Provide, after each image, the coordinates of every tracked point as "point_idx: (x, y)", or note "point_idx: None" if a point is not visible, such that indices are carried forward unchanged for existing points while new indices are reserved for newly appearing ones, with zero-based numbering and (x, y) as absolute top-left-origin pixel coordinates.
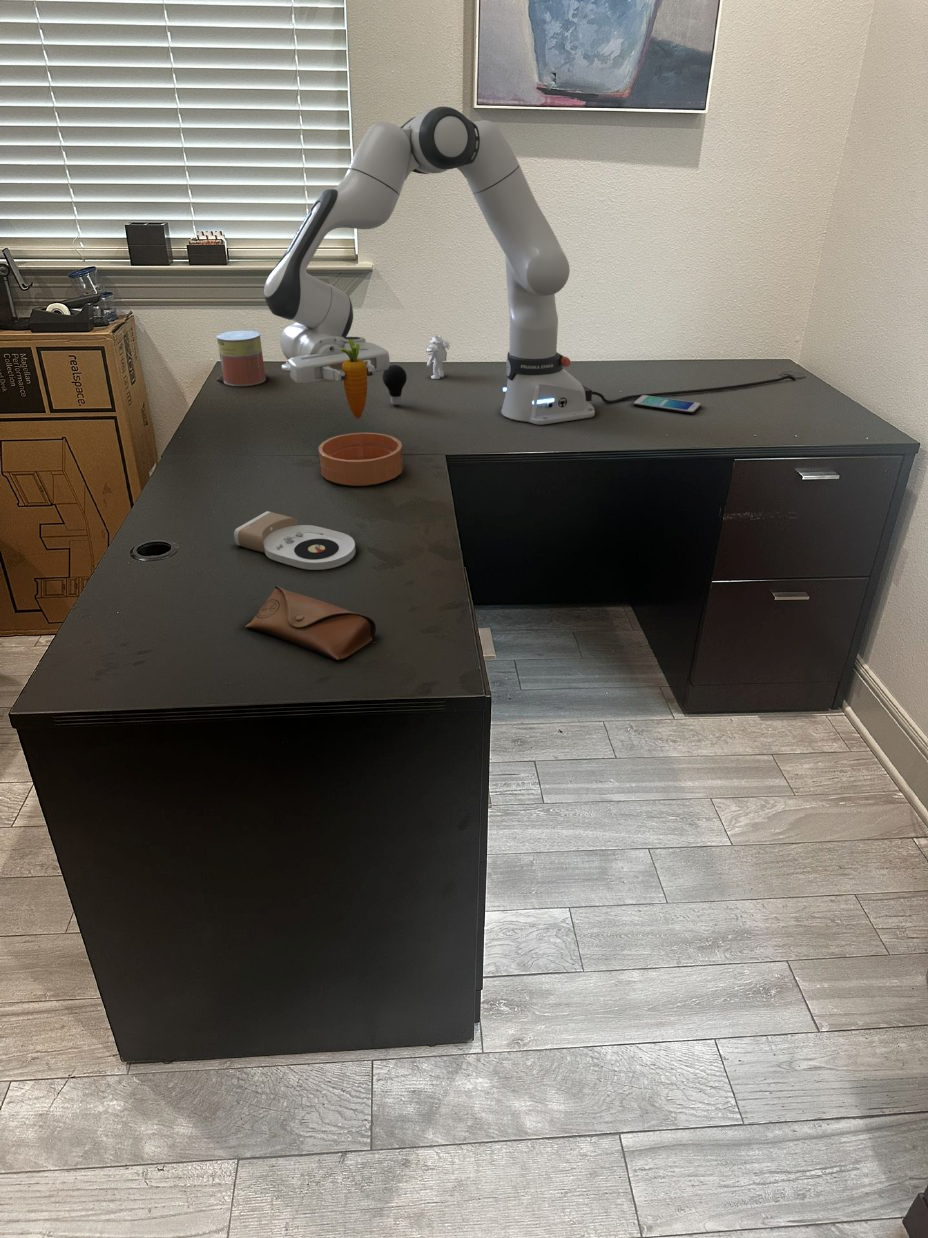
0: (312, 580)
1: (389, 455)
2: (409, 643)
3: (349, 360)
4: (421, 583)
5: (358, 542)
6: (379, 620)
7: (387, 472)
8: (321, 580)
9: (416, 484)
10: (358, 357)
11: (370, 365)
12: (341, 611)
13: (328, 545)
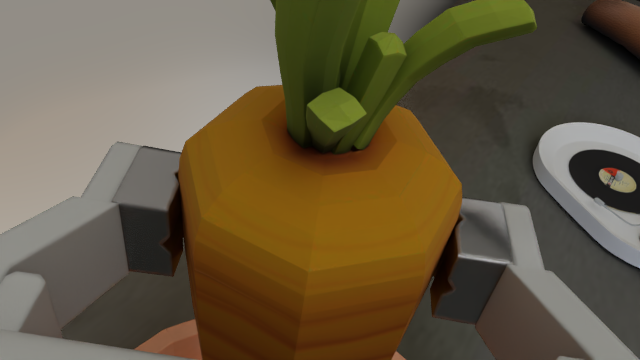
0: (637, 133)
1: None
2: (544, 6)
3: (362, 168)
4: (472, 50)
5: (515, 170)
6: (563, 38)
7: None
8: (621, 126)
9: None
10: (46, 337)
11: (123, 165)
12: (634, 8)
13: (589, 175)
